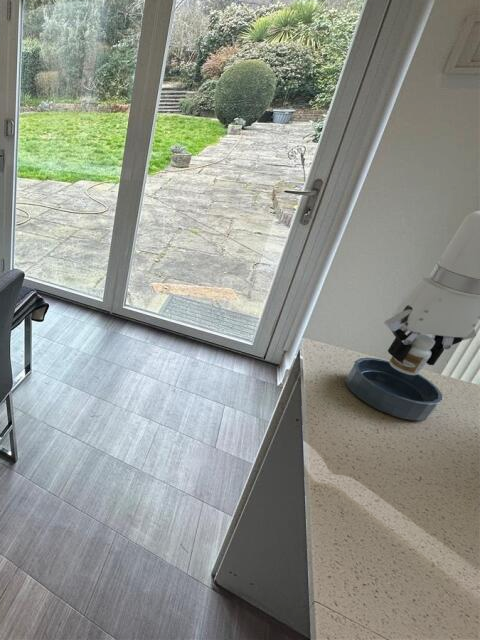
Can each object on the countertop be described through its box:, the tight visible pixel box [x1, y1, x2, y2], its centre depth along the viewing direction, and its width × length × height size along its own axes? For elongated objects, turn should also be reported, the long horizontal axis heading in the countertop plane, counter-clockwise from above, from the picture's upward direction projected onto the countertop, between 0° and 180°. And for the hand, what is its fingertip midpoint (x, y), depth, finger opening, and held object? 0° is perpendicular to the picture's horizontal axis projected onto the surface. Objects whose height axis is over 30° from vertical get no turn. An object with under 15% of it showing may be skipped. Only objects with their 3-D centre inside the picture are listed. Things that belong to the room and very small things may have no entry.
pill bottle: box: [389, 333, 435, 375], centre depth 81 cm, size 4×4×8 cm
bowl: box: [345, 357, 443, 421], centre depth 85 cm, size 13×13×5 cm
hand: (410, 357), depth 81 cm, fingers closed on pill bottle, 4 cm apart
